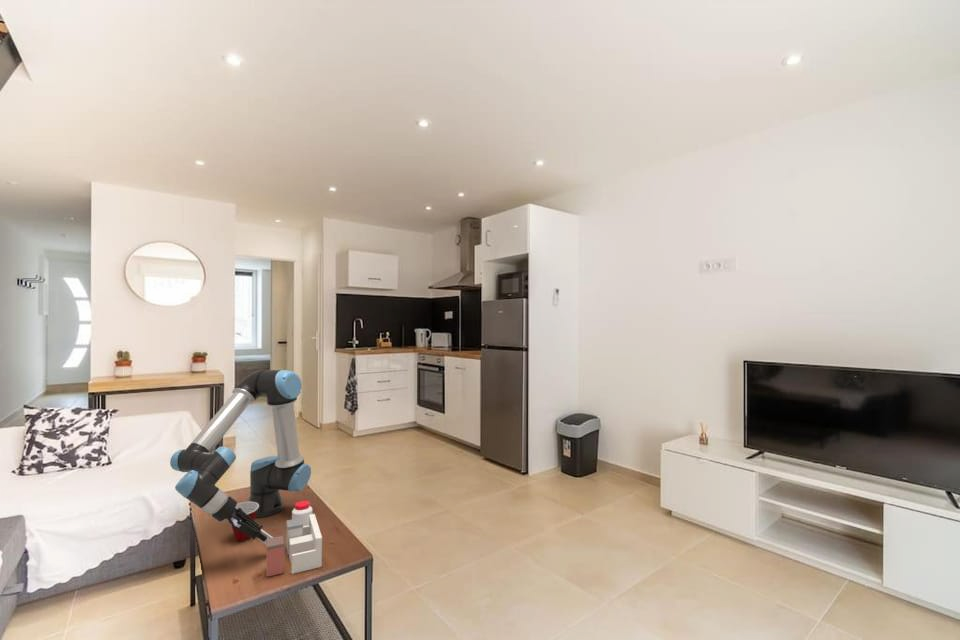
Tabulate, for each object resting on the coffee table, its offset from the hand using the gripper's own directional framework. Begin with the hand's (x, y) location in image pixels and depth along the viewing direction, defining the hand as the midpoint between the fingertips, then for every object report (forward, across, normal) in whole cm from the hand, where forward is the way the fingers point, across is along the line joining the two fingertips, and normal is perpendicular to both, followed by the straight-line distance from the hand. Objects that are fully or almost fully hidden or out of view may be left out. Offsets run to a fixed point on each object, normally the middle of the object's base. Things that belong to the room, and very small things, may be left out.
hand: (272, 543), depth 156 cm
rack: (+10, +6, +4) cm, 12 cm away
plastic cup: (-3, -19, -10) cm, 22 cm away
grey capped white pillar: (+8, 0, +2) cm, 8 cm away
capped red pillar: (+3, +12, -3) cm, 12 cm away
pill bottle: (+11, -15, +5) cm, 19 cm away
